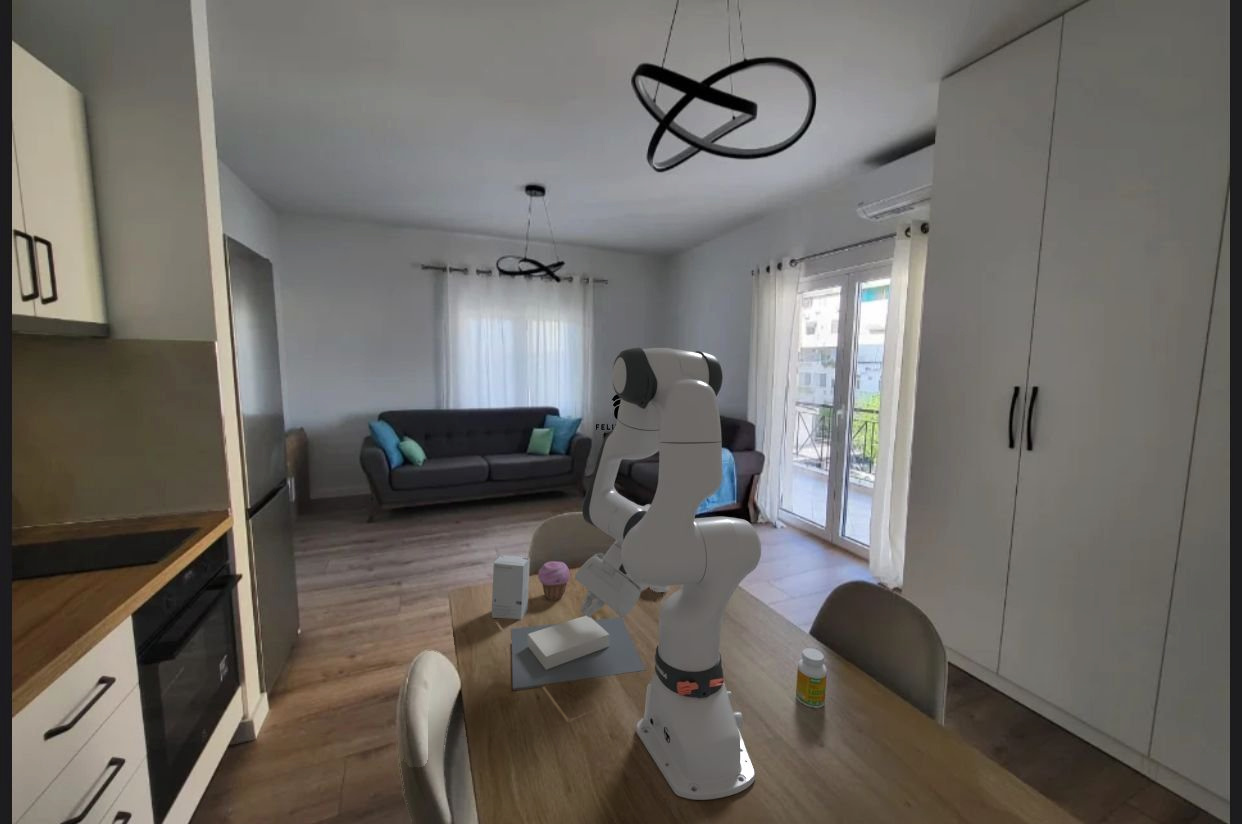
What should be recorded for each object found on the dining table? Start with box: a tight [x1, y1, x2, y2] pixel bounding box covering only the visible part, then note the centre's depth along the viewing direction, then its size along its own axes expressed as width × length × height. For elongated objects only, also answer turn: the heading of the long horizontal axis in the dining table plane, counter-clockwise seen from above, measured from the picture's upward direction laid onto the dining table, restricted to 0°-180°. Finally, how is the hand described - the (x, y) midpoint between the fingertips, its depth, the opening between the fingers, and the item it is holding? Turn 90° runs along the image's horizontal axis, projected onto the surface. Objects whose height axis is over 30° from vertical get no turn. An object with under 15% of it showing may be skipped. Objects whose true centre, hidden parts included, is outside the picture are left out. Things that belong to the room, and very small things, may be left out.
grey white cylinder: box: [649, 586, 670, 593], centre depth 141 cm, size 7×7×7 cm
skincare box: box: [491, 554, 531, 621], centre depth 125 cm, size 8×6×15 cm
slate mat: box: [511, 616, 646, 691], centre depth 110 cm, size 22×28×1 cm
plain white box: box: [528, 615, 609, 670], centre depth 111 cm, size 3×10×16 cm
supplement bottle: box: [795, 647, 828, 709], centre depth 95 cm, size 5×5×10 cm
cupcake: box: [538, 561, 571, 601], centre depth 135 cm, size 9×9×10 cm
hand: (584, 613), depth 112 cm, fingers closed
